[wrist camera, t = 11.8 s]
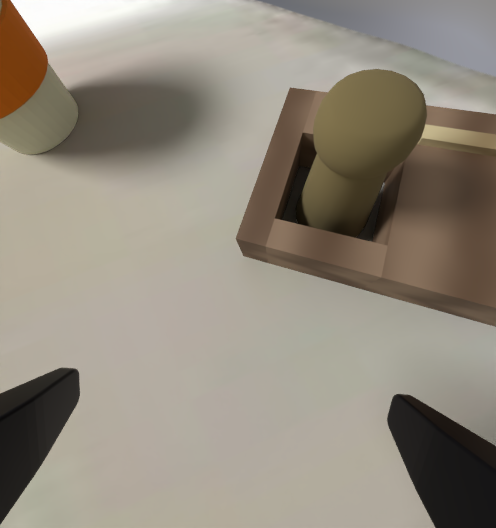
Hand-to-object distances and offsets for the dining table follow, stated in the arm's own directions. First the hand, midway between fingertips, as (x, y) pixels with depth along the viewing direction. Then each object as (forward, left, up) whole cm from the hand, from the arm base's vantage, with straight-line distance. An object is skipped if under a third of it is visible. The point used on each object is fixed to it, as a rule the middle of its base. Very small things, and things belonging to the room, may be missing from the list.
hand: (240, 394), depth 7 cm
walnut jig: (-6, -14, -12) cm, 20 cm away
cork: (-2, -13, -13) cm, 18 cm away
